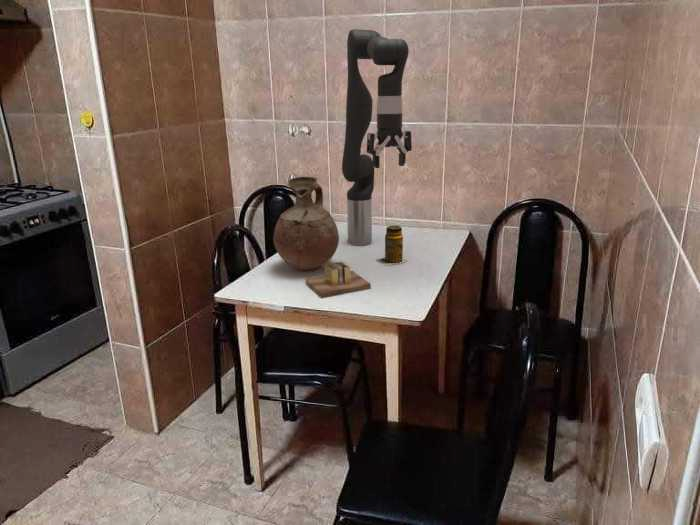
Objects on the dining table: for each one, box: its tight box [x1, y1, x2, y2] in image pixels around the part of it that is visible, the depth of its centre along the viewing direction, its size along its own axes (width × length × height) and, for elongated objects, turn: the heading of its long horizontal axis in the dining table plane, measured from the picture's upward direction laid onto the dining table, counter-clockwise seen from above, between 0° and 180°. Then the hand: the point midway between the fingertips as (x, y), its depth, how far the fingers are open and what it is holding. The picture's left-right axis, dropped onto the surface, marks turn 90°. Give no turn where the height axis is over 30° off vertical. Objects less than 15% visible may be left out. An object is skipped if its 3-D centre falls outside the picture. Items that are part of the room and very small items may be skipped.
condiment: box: [376, 225, 408, 267], centre depth 183 cm, size 7×8×12 cm
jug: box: [272, 175, 340, 273], centre depth 175 cm, size 22×22×30 cm
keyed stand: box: [305, 264, 372, 299], centre depth 162 cm, size 13×16×6 cm
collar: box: [323, 261, 352, 286], centre depth 162 cm, size 6×6×5 cm
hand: (389, 166), depth 163 cm, fingers open, 8 cm apart
